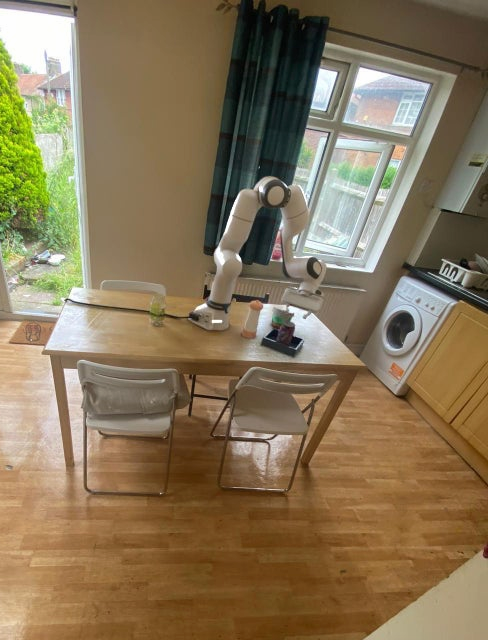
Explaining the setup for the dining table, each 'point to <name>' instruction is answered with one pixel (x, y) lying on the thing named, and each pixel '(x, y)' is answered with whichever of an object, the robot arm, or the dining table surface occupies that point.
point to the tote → (270, 342)
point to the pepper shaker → (252, 319)
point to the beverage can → (286, 333)
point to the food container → (280, 317)
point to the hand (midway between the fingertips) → (295, 315)
